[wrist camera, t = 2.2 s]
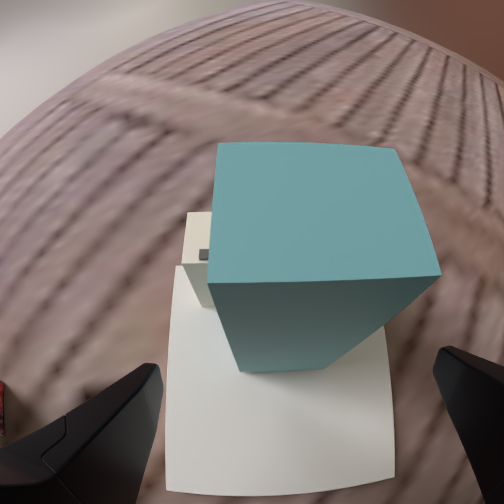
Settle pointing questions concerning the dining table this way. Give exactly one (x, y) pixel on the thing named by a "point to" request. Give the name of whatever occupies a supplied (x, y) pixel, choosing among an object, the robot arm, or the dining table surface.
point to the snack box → (1, 408)
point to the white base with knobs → (266, 405)
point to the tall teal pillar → (312, 250)
